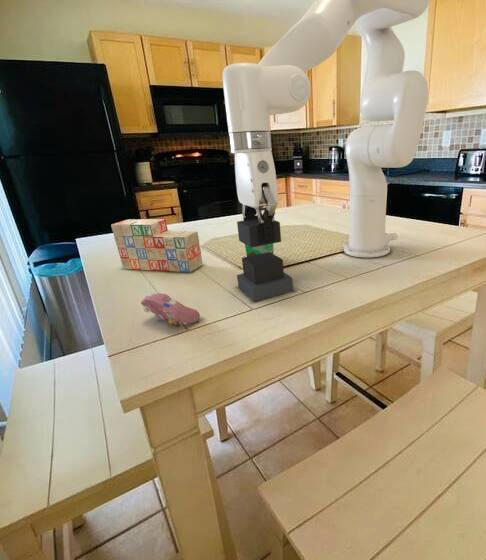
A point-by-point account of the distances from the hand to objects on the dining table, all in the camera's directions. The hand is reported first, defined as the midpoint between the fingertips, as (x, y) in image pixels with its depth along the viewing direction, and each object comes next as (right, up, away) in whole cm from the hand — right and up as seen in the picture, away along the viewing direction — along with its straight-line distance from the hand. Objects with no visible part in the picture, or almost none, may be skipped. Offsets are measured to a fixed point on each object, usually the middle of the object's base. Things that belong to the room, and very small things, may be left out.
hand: (259, 238), depth 68 cm
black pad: (0, -1, 0) cm, 1 cm away
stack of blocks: (-29, -5, +22) cm, 36 cm away
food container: (-1, -4, +20) cm, 20 cm away
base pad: (+1, -10, +4) cm, 11 cm away
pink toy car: (-15, -16, -7) cm, 23 cm away
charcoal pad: (0, -8, +3) cm, 8 cm away
